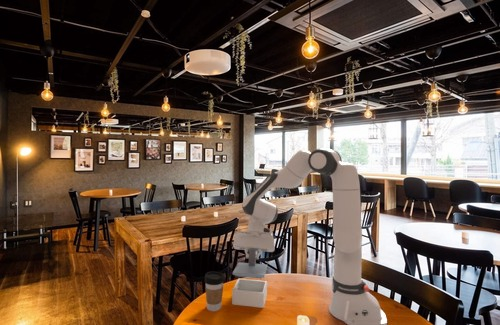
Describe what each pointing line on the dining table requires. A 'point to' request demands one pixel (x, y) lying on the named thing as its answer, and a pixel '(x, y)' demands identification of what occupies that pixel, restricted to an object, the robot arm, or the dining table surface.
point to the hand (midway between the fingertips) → (252, 258)
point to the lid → (250, 268)
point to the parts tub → (249, 293)
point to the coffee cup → (214, 290)
